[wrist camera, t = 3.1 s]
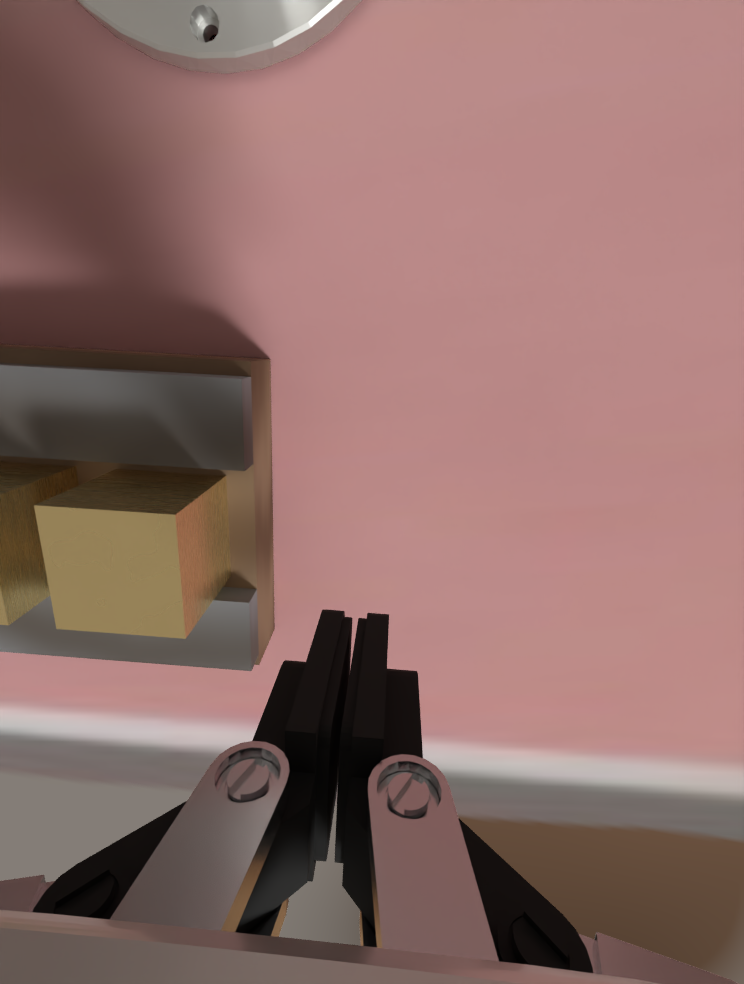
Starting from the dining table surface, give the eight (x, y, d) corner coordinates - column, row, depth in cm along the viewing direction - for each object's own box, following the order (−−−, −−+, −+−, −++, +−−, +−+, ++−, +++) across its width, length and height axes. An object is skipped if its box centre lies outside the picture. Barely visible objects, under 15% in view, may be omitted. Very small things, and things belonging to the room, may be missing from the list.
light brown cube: (116, 468, 17) (33, 505, 13) (226, 475, 17) (175, 514, 13) (128, 568, 18) (56, 628, 14) (230, 575, 18) (185, 638, 14)
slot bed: (-59, 340, 18) (-162, 339, 15) (270, 359, 18) (240, 362, 14) (0, 608, 22) (-71, 656, 18) (274, 629, 21) (251, 681, 18)
